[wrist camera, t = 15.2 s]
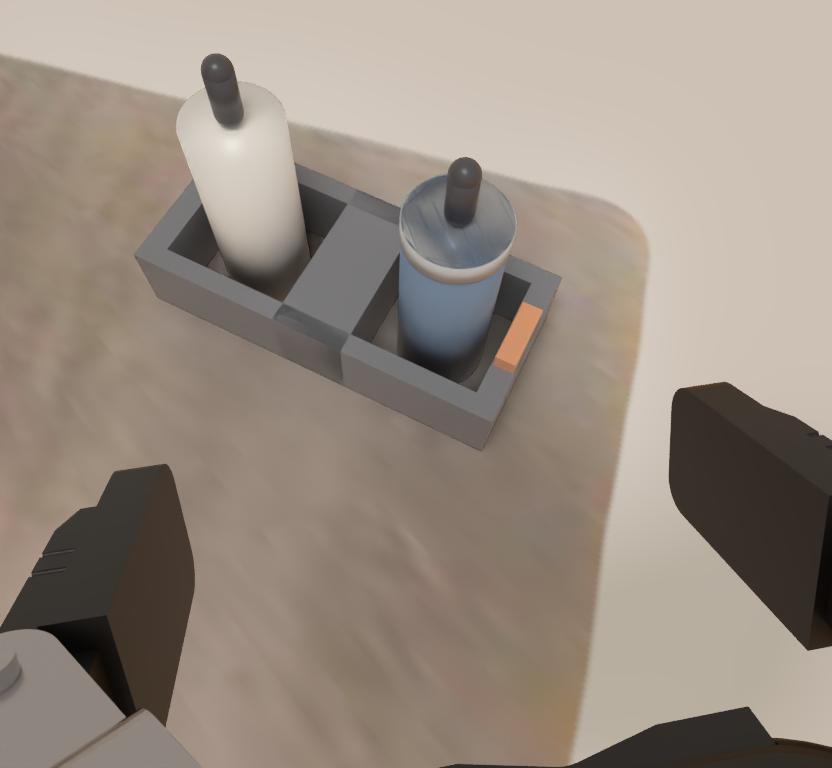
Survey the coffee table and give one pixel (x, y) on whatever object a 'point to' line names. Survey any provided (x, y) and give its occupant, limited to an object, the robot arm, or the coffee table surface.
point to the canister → (451, 268)
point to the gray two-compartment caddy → (312, 262)
